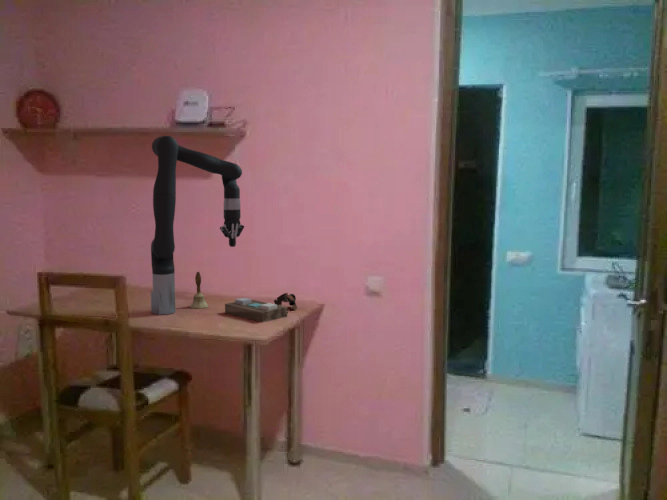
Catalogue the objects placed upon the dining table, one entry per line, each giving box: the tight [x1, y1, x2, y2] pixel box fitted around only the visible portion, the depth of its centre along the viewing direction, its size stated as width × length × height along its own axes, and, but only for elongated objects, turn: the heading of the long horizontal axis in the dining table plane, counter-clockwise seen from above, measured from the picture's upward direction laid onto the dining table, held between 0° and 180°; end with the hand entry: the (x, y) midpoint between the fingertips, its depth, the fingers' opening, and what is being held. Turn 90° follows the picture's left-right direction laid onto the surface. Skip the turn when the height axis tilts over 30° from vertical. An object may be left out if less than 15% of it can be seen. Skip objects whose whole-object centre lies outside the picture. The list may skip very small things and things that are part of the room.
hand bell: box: [189, 271, 209, 310], centre depth 276 cm, size 8×8×16 cm
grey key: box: [234, 297, 253, 305], centre depth 268 cm, size 5×5×2 cm
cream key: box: [260, 302, 277, 311], centre depth 258 cm, size 5×5×2 cm
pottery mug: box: [273, 292, 298, 312], centre depth 276 cm, size 12×10×8 cm
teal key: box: [248, 303, 262, 308], centre depth 263 cm, size 5×5×2 cm
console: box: [224, 299, 288, 323], centre depth 263 cm, size 14×24×4 cm, turn 50°
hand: (232, 246), depth 279 cm, fingers closed
